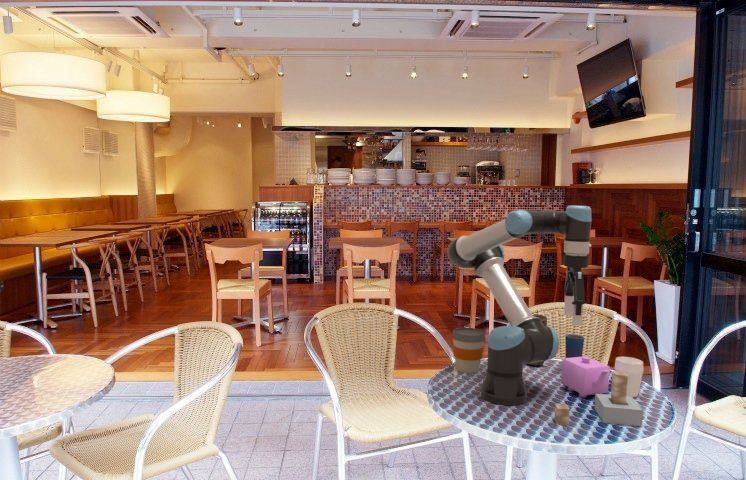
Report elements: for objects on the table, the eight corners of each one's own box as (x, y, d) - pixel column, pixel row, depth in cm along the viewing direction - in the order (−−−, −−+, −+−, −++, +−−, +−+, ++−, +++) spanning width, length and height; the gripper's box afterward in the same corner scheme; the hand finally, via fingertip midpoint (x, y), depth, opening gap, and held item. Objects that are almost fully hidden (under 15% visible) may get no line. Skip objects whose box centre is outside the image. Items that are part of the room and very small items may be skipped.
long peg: (612, 418, 166) (615, 374, 165) (609, 414, 170) (612, 371, 169) (624, 420, 166) (627, 375, 165) (621, 415, 169) (624, 372, 168)
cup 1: (584, 377, 204) (587, 339, 202) (566, 377, 204) (569, 338, 202) (578, 371, 211) (580, 334, 209) (560, 371, 211) (562, 333, 209)
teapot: (556, 385, 195) (558, 351, 194) (579, 382, 198) (581, 349, 197) (595, 406, 176) (597, 369, 175) (620, 403, 180) (622, 366, 178)
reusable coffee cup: (486, 366, 214) (488, 329, 213) (479, 376, 203) (481, 337, 201) (456, 362, 219) (457, 325, 218) (447, 371, 208) (448, 332, 206)
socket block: (603, 422, 163) (604, 406, 163) (594, 408, 174) (595, 393, 174) (641, 426, 162) (642, 410, 161) (630, 411, 172) (631, 396, 172)
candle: (547, 364, 219) (550, 316, 217) (540, 368, 213) (543, 319, 211) (529, 360, 223) (531, 313, 222) (522, 364, 218) (524, 316, 216)
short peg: (556, 424, 162) (557, 408, 161) (554, 419, 165) (555, 403, 165) (568, 425, 161) (569, 409, 161) (566, 420, 164) (567, 404, 164)
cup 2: (644, 400, 183) (647, 365, 182) (616, 397, 184) (618, 363, 183) (637, 390, 192) (639, 357, 190) (610, 388, 193) (612, 355, 192)
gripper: (598, 259, 158) (593, 330, 160) (580, 250, 182) (576, 312, 184) (571, 258, 159) (567, 328, 161) (557, 249, 184) (554, 311, 185)
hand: (572, 320), depth 173 cm, fingers open, 13 cm apart
